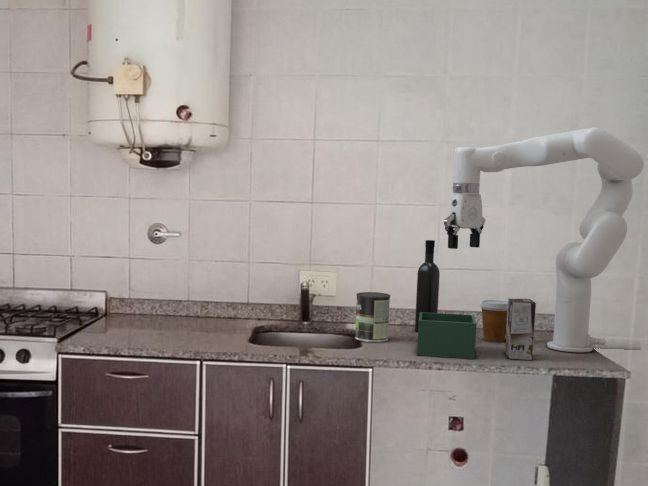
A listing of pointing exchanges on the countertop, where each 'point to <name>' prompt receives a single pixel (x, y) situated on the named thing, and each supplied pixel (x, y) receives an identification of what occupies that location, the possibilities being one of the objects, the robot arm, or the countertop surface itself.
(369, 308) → the coffee can
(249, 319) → the countertop surface
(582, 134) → the robot arm
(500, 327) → the disposable coffee cup
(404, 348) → the countertop surface
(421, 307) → the wine bottle
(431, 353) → the green storage bin
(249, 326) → the countertop surface
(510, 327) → the coffee box
